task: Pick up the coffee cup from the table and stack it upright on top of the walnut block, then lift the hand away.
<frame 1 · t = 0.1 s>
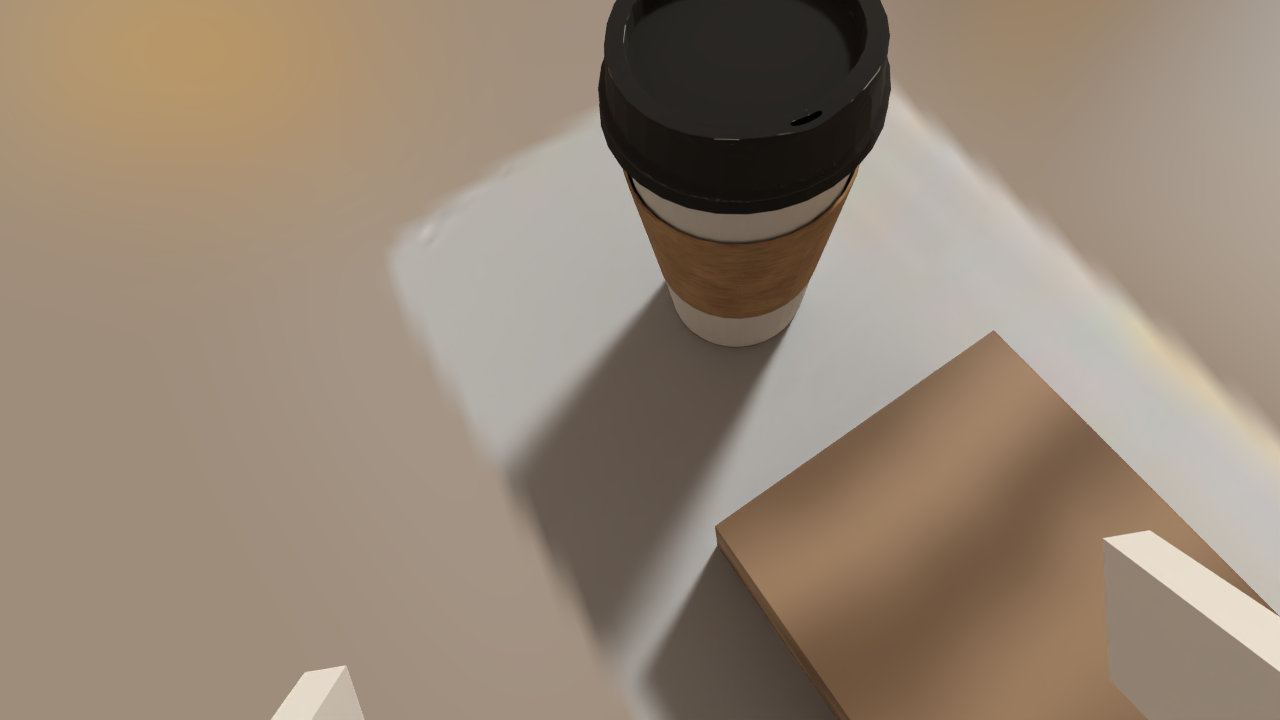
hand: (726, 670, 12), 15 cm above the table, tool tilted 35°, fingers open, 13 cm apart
walnut block: (941, 588, 26), on the table
coffee cup: (736, 290, 32), on the table
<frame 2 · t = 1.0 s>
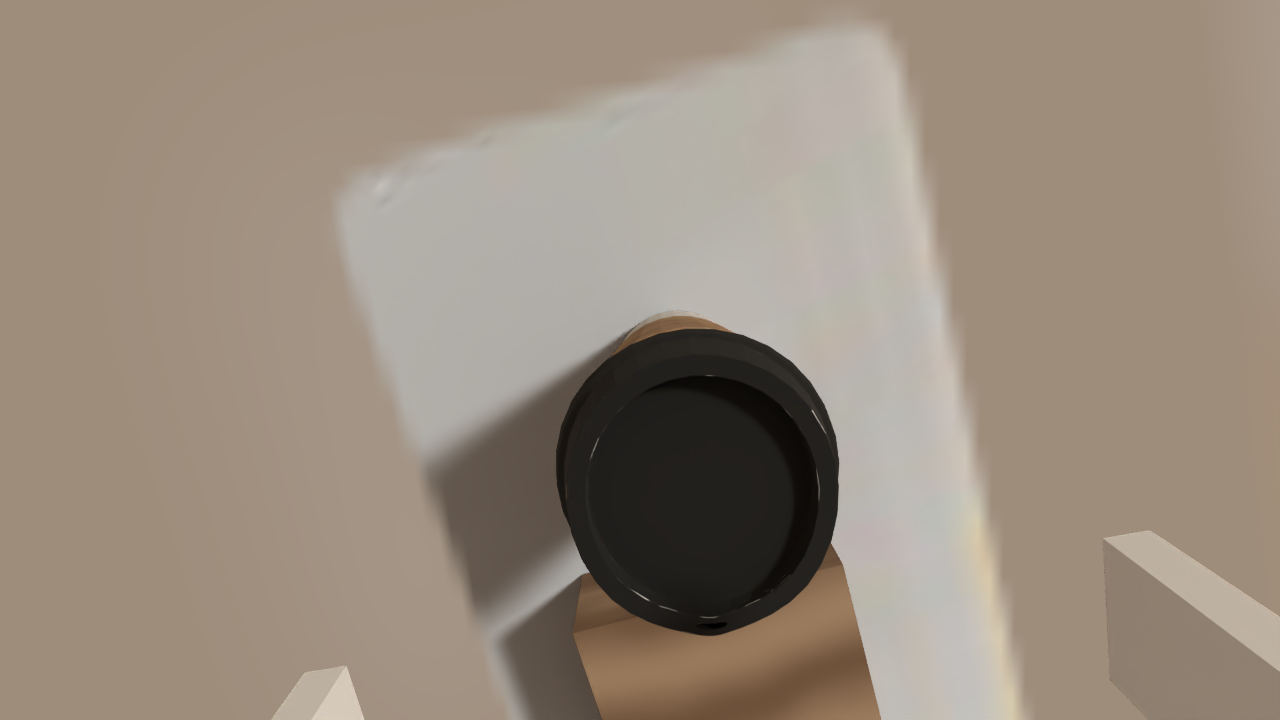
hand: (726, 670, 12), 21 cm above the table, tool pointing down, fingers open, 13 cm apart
walnut block: (727, 647, 36), on the table
coffee cup: (677, 371, 33), on the table
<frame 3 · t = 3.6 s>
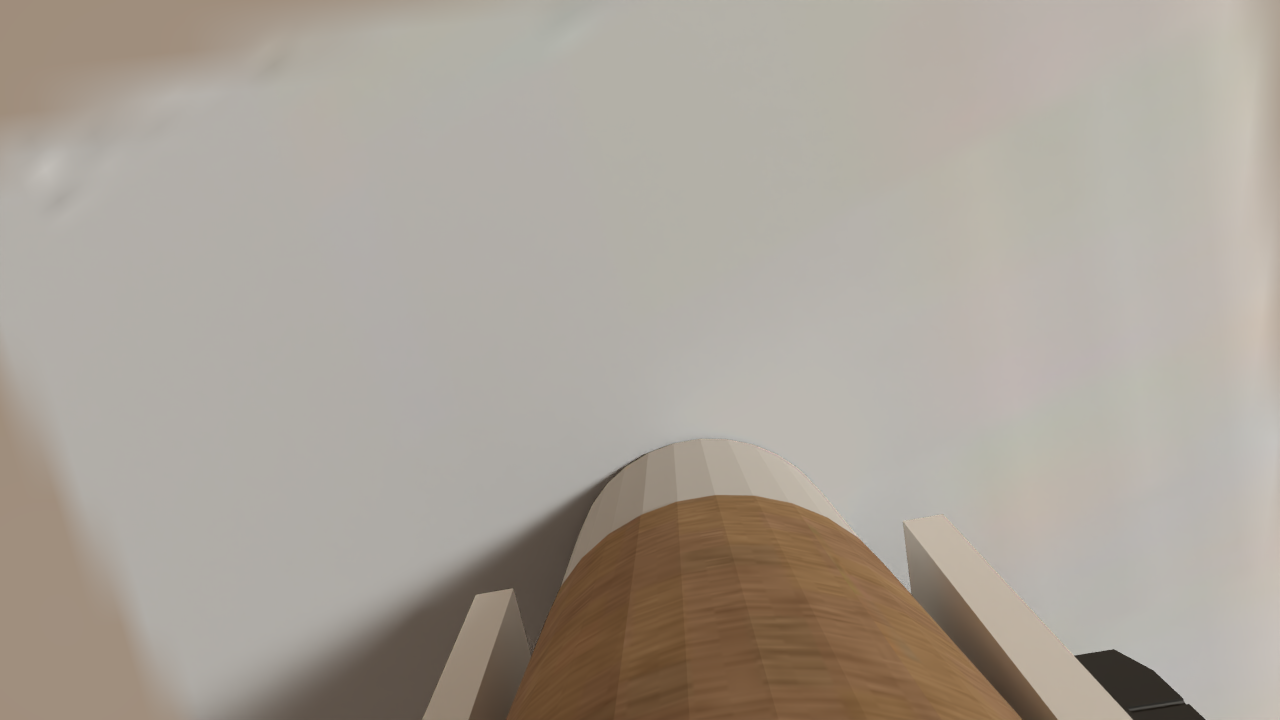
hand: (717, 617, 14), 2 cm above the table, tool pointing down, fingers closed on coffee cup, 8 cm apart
coffee cup: (707, 556, 16), on the table, touching gripper
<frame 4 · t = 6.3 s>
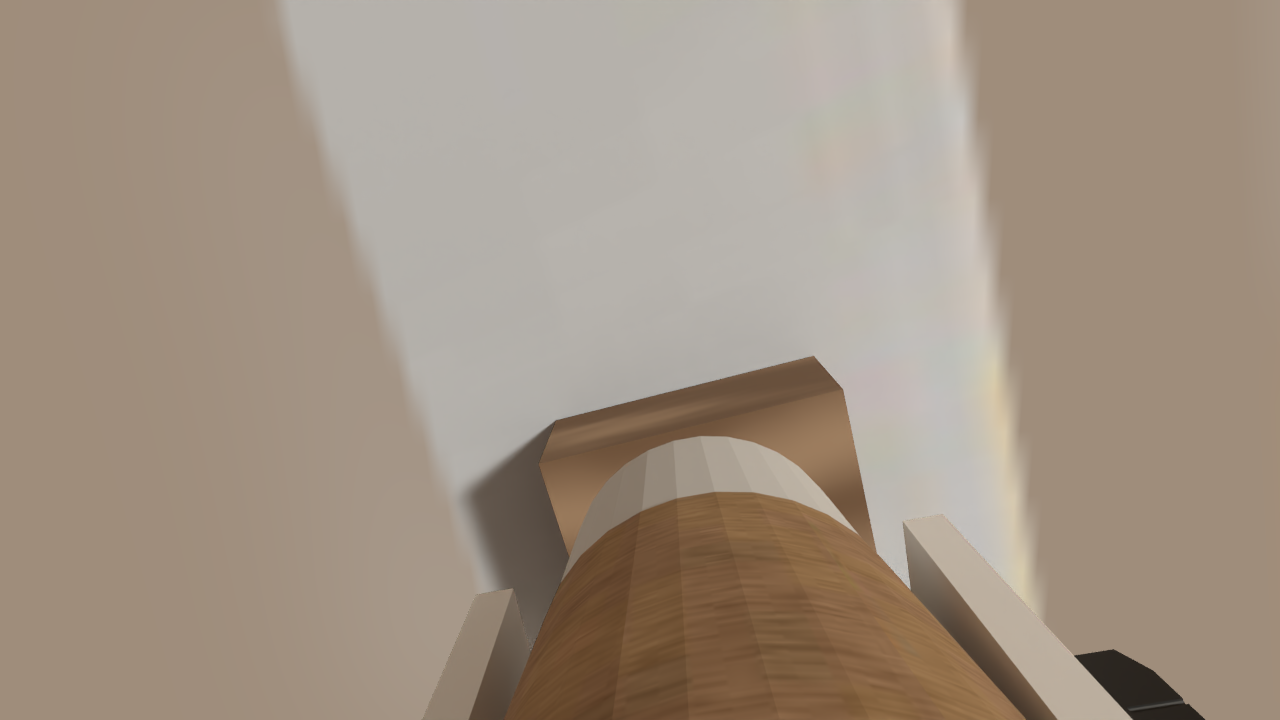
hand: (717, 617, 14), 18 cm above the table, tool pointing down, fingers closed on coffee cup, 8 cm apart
walnut block: (713, 506, 33), on the table
coffee cup: (707, 554, 16), point 16 cm above the table, touching gripper
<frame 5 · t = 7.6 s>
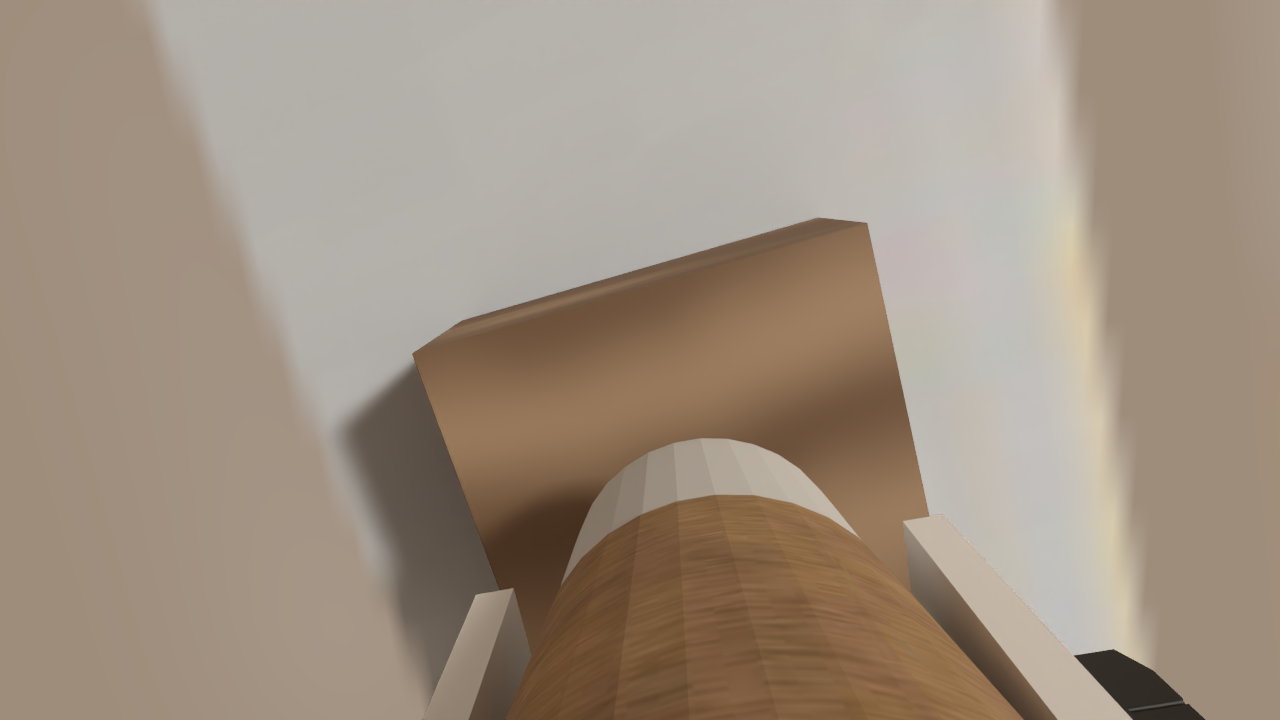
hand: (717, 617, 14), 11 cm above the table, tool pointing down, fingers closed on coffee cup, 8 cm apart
walnut block: (685, 439, 24), on the table
coffee cup: (707, 556, 16), point 8 cm above the table, touching gripper
when the fingers open (9 cm above the table, at t = 8.8 s): coffee cup drops 1 cm, resting on walnut block.
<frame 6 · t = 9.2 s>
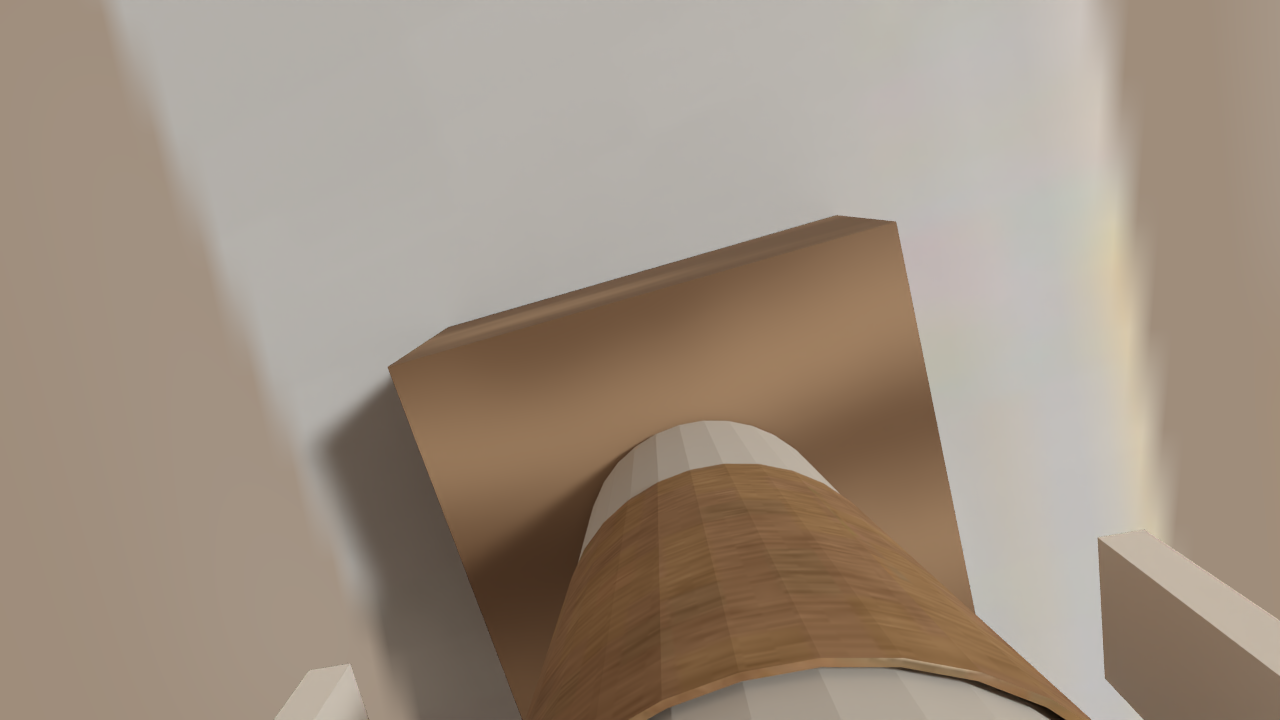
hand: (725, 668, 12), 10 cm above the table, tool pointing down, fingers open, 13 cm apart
walnut block: (690, 455, 22), on the table
coffee cup: (709, 530, 17), point 5 cm above the table, touching walnut block
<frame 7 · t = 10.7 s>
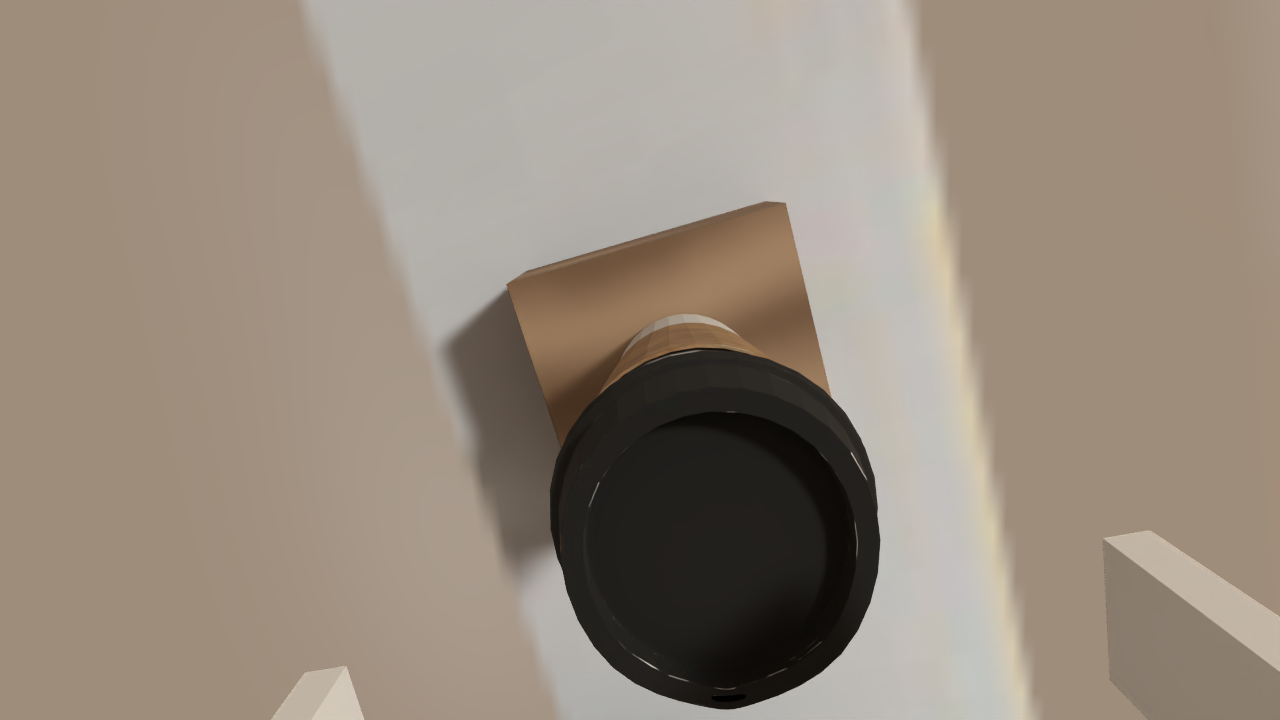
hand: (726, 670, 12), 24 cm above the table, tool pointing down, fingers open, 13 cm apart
walnut block: (677, 353, 35), on the table
coffee cup: (685, 379, 30), point 5 cm above the table, touching walnut block
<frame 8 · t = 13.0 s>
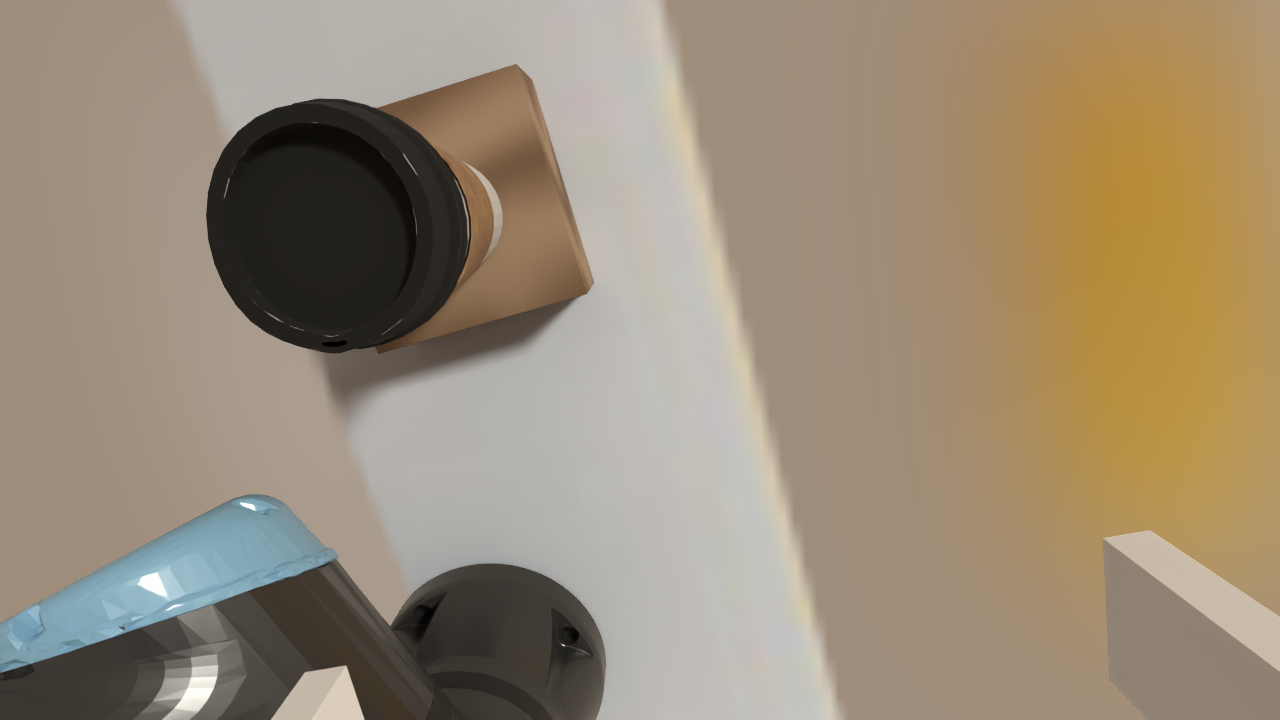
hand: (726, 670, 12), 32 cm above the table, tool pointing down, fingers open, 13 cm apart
walnut block: (467, 213, 41), on the table
coffee cup: (448, 216, 37), point 5 cm above the table, touching walnut block
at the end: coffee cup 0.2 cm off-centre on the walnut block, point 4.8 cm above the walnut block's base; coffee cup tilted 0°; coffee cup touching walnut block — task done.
